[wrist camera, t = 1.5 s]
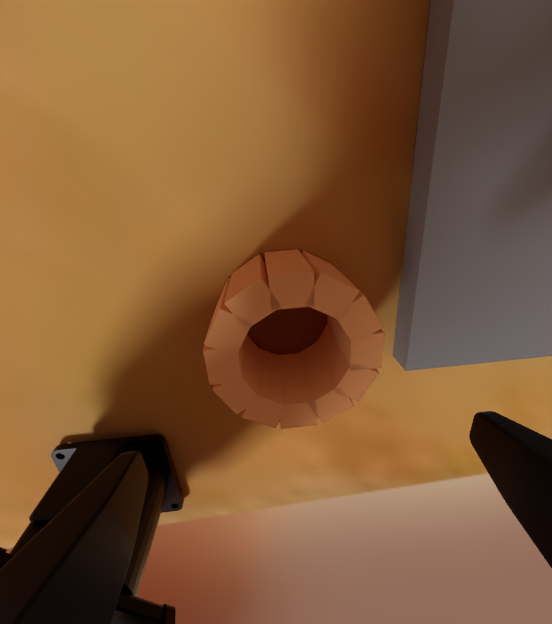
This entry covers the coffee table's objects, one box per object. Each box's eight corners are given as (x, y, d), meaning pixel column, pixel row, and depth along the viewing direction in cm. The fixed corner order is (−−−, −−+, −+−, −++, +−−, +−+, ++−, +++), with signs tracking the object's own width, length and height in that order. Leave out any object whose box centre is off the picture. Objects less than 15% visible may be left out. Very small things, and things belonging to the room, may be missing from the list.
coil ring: (349, 367, 16) (376, 418, 13) (227, 379, 16) (219, 435, 13) (353, 244, 14) (390, 264, 10) (206, 257, 13) (189, 282, 10)
